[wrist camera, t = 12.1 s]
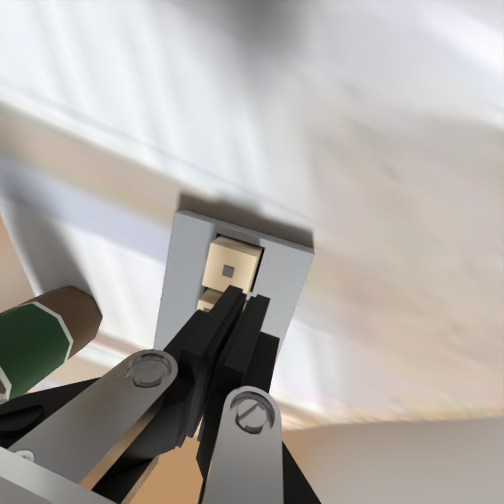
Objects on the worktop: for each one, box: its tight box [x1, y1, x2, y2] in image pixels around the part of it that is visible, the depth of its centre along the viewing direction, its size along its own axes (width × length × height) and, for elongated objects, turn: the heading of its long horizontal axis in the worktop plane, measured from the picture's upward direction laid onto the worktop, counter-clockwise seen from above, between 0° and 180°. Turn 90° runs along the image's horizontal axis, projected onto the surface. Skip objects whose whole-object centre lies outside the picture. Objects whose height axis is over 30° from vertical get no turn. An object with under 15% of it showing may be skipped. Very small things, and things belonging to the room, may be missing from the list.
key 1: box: [202, 235, 263, 295], centre depth 24 cm, size 4×4×4 cm
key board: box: [153, 209, 314, 363], centre depth 27 cm, size 13×17×2 cm
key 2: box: [196, 288, 248, 312], centre depth 25 cm, size 4×4×4 cm
